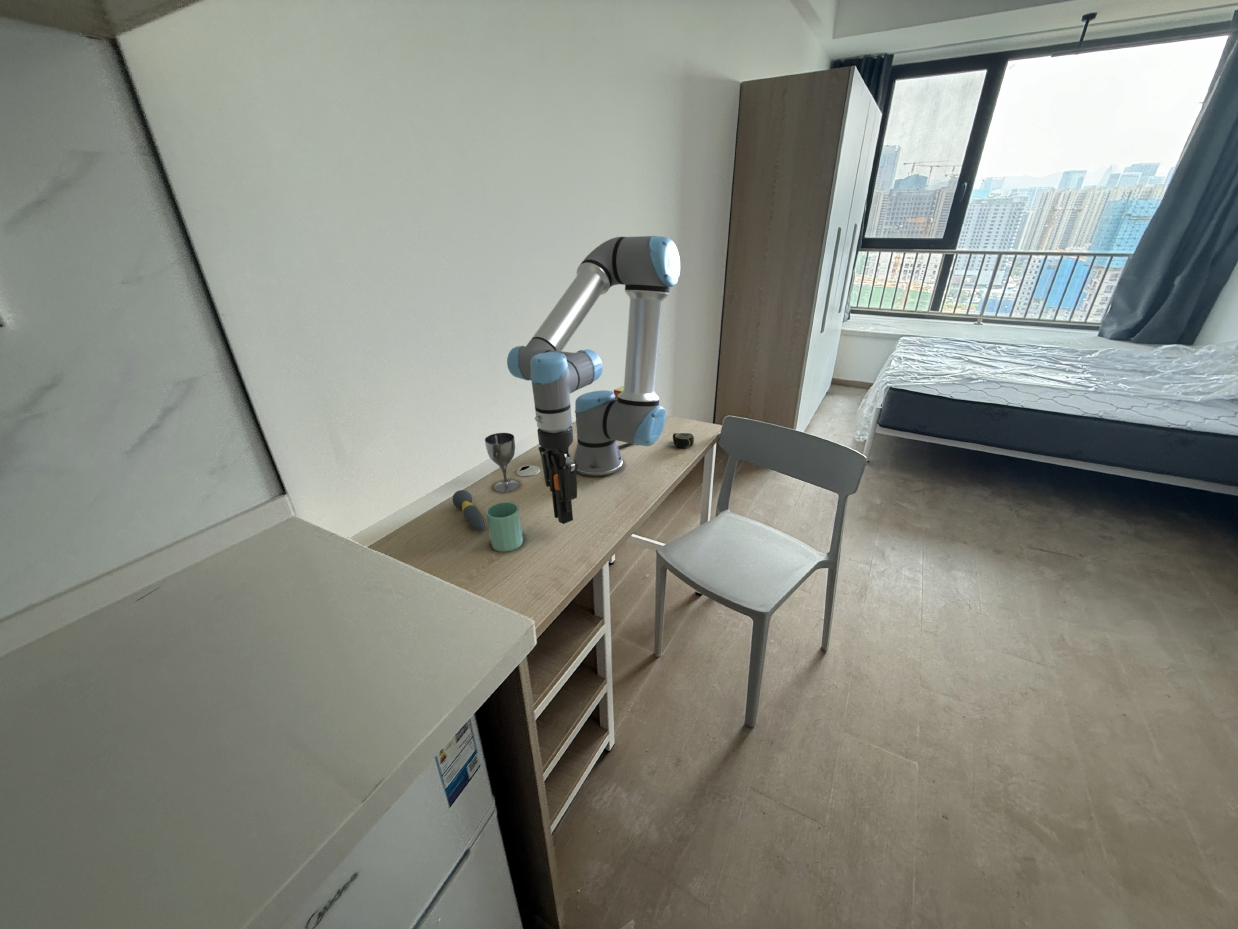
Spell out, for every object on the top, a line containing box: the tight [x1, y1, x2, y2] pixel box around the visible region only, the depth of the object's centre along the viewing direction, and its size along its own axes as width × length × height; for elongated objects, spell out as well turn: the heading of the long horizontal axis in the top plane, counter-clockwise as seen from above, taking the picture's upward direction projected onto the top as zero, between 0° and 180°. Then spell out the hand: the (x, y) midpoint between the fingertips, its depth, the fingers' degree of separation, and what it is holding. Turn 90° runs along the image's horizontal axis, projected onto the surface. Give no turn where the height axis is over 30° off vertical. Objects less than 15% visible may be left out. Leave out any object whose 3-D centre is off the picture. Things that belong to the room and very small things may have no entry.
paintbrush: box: [451, 489, 485, 532], centre depth 124 cm, size 20×5×5 cm, turn 38°
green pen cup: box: [485, 501, 524, 552], centre depth 112 cm, size 7×7×9 cm
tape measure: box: [672, 432, 695, 449], centre depth 161 cm, size 7×7×4 cm
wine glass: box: [484, 432, 520, 493], centre depth 136 cm, size 8×8×15 cm
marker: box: [554, 474, 562, 524], centre depth 112 cm, size 3×3×12 cm
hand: (563, 518), depth 115 cm, fingers closed on marker, 2 cm apart
